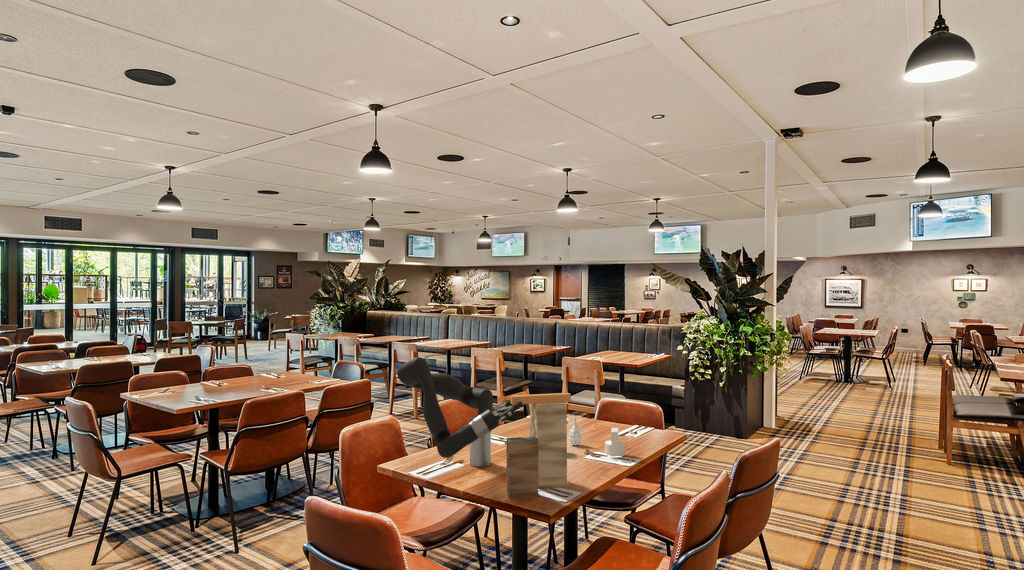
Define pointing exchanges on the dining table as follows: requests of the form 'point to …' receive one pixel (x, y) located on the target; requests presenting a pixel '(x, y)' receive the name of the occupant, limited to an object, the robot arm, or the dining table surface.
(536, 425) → the stand
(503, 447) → the dining table surface
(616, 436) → the cylinder with rectangular tab
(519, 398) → the bar
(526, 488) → the block
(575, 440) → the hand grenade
